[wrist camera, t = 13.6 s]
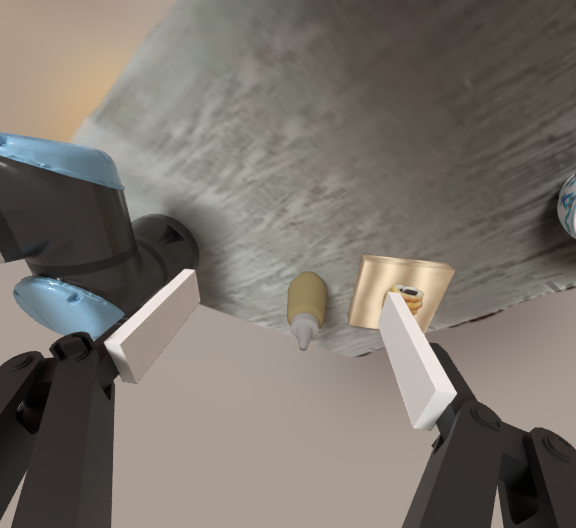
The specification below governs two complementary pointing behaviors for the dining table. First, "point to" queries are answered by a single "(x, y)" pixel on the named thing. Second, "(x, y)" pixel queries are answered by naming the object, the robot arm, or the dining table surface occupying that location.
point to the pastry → (408, 297)
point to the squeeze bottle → (306, 307)
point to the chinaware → (568, 206)
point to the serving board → (387, 273)
